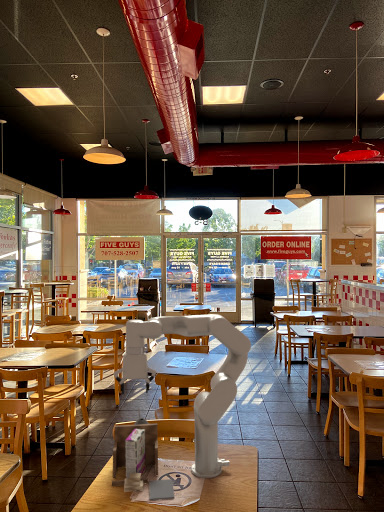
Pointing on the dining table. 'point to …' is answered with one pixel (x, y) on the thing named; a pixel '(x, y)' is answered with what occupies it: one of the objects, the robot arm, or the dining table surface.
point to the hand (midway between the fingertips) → (135, 392)
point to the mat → (161, 489)
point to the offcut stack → (133, 482)
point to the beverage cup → (140, 420)
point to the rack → (119, 448)
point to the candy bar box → (135, 452)
